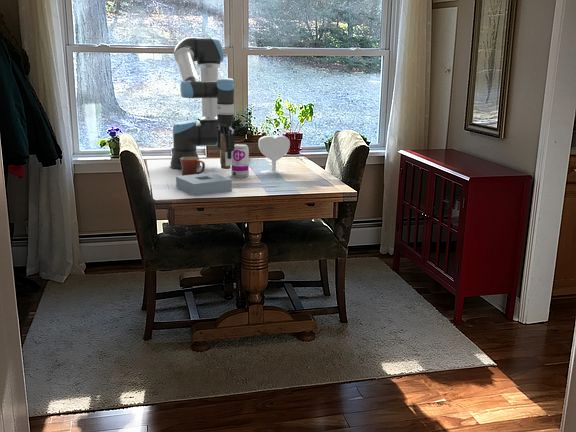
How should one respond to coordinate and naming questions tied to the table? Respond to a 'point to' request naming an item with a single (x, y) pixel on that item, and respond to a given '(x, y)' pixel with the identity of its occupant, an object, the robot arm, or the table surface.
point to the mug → (191, 165)
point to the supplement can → (240, 160)
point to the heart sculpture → (274, 149)
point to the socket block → (203, 183)
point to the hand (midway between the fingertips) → (225, 164)
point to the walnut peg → (223, 152)
